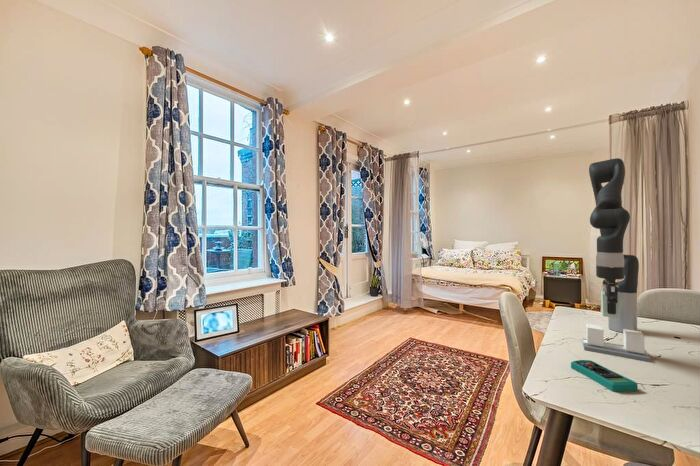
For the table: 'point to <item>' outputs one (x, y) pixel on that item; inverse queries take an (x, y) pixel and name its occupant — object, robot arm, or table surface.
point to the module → (604, 306)
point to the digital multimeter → (604, 376)
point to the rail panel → (629, 349)
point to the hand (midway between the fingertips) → (610, 311)
